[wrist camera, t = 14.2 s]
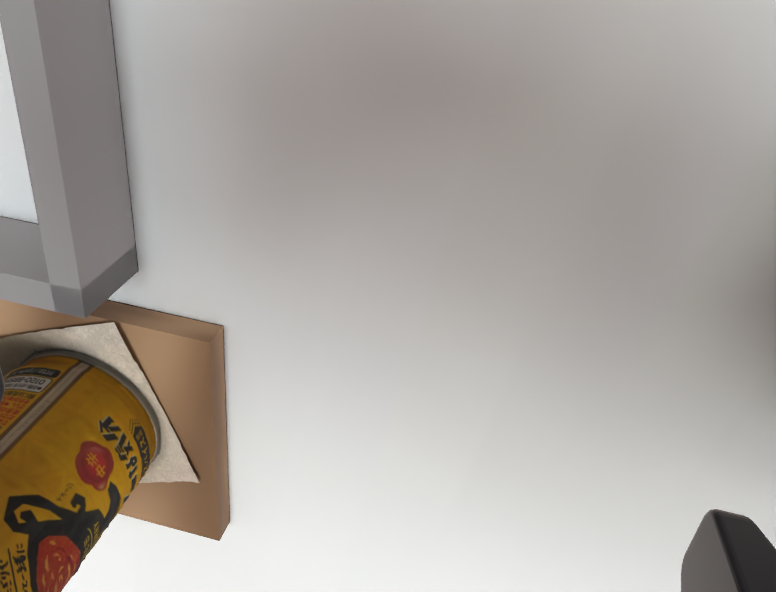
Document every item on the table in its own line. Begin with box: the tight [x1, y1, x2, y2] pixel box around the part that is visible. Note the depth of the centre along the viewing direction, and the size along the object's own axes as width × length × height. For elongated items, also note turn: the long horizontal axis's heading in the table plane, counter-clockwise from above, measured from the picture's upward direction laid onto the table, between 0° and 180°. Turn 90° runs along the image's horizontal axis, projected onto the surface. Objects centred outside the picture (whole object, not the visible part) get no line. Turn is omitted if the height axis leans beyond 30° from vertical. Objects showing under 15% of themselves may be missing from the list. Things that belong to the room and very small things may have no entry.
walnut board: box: [0, 299, 230, 541], centre depth 27 cm, size 12×10×1 cm
